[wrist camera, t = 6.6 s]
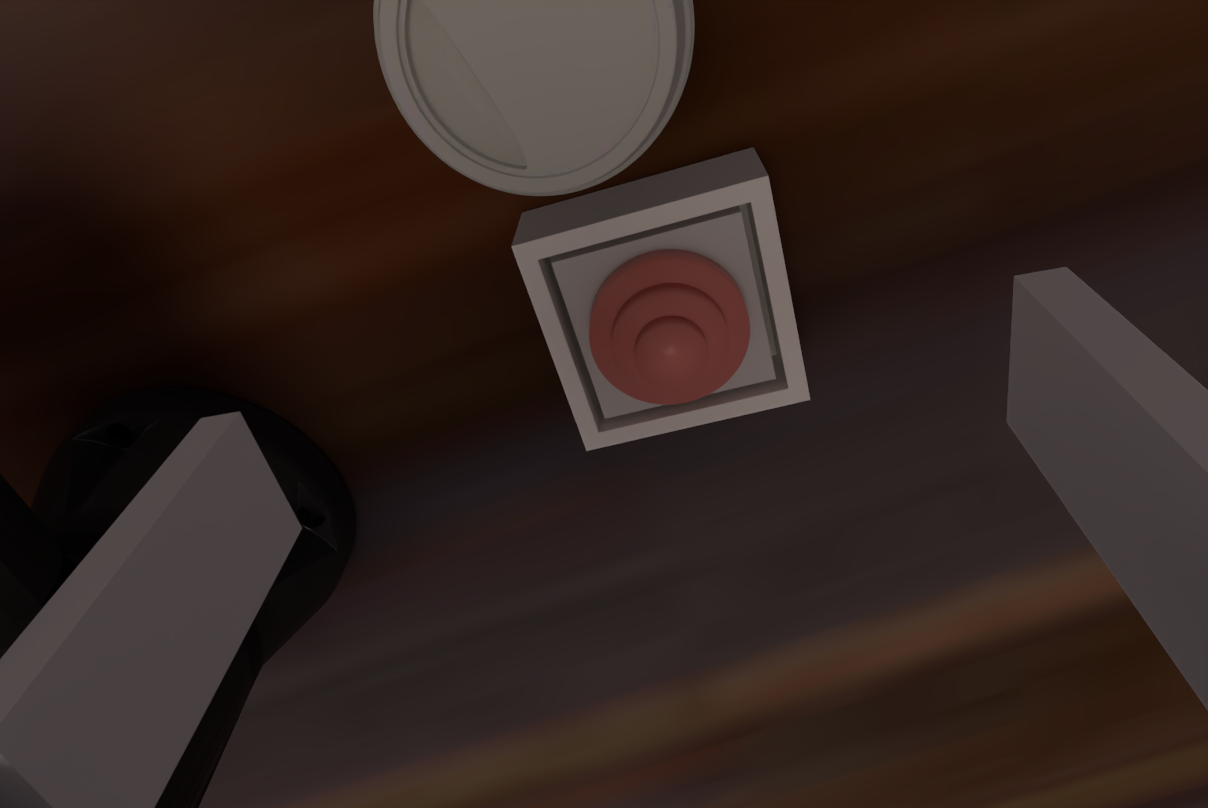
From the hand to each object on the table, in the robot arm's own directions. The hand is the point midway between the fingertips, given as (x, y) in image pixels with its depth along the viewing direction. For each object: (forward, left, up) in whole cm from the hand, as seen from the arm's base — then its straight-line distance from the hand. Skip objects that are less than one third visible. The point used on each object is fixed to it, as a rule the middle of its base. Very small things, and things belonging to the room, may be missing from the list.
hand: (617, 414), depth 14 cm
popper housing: (-5, -5, -22) cm, 23 cm away
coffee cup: (+3, +4, -22) cm, 23 cm away
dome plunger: (-5, -5, -20) cm, 22 cm away
